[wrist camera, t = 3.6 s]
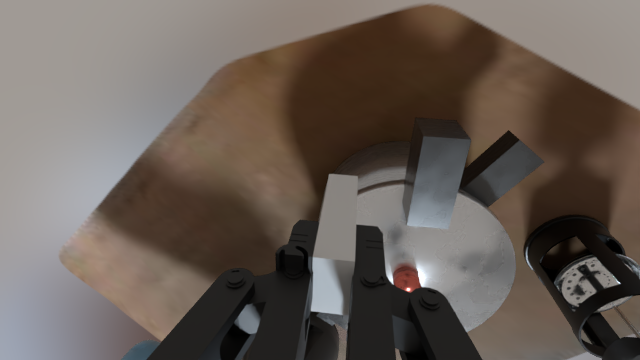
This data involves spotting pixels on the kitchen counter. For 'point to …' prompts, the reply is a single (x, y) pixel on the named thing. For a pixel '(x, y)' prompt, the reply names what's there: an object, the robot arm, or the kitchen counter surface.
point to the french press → (589, 282)
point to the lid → (439, 228)
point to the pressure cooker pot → (477, 179)
